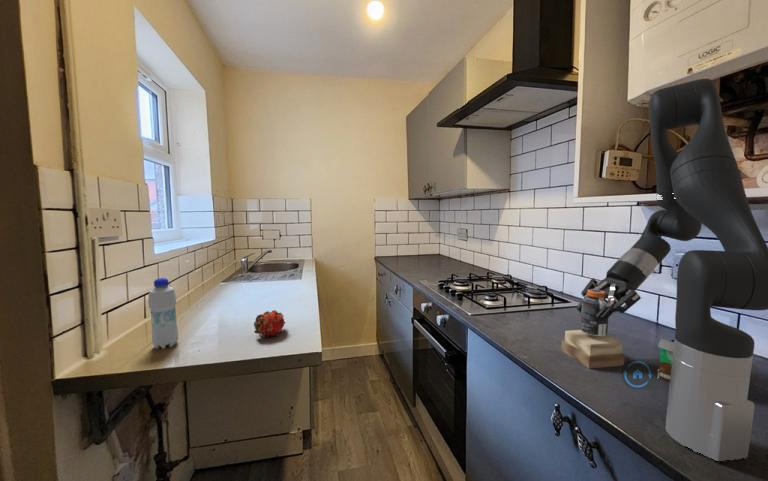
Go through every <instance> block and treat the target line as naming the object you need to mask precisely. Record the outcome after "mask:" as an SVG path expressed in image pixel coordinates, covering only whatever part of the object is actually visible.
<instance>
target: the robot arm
mask: <svg viewBox="0 0 768 481" xmlns="http://www.w3.org/2000/svg"><path fill="white" fill-rule="evenodd" d="M720 100H721V99H720V95H719V91H718V88H717V86H716V83H715V82H714V81H713V80H712V79H710V78H700V79H694V80H691V81H687V82H682V83H678V84H675V85H671V86H667V87H662V88H659V89H657V90H655V91H654V92H652V94H651V95H650V99H649V102H648V122H649V130H650V137H651V147H652V148H651V149H652V152H653V153H652V154H653V159H654V164H655V166H654V167H655V171H656V195H657V194H659V195H662V196H661V197H663V198H662V199H663V200H657V199H656V203H657V205H658V206H659V207H661V209H660V210H659V209H658V210H657V211H655V212H654V213H652V214H651V215H650V216H649V218H648V221H647V223H646V225H645V228H644V230H643V232H642V233H641V235H640V237H639V238H638V240H637V241H635V243H634V244H633V245H632V246H631V247H630V248H629V249H628V250H627V251H626V252H625V253H623V254H622V255H621V256H620V257H619V258H618V260H617V261H616V262H615V263H614V264H613V265H612V266H611V267H610V268H609V269H608V270H607V271H606V275H605V276H606V277H605V278H603V279H602V280H596V278H590V280H589V282H588V283H587V284H586V286H584V288H583V289H582V291H581V293H580V294H581V296H582V297H583V298H585V297H587V290H590V289H594V290H601V291H604V292H605V293H606V294H605V296H606V297H605V299H606V300H607V299H608V300H607V301H608V303H607V306H604V307H603V308H602V309H601V310H600V312H599V313H598V314H597V315H596V318H597V319H598V320H599V321H600V322H603V321H605V320H607V319H608V320H609V318H610V316H612V314H613V313H618V312H619V313H620V314H624V313H625V312H627V311H628V310H629V309H630V308H632V307H633V306H634V305H635V304H637V302H639V301H640V300H641V299H642V297H641V296H640V294H639V293H638V292H637V289H638V288H640V287H641V285H642V284H643V283H644V282H645V281H646V280H647V279H648V278H649V276H650V275H652V274H653V272H654V271H655V270H656V268H657V267H658V265H659V264H660V263H662V261H663V260H664V259H665V258H666V257H667V256H668V255H669V253H670V252H671V245H670V243H669V242H668V241H667V240H665V239H664V238H662V237H665V238H670V239H673V240H676V241H681V242H690V241H692V240H694V239H695V238H697V237H698V235H699V234H700V232H701V230H702V226H705V227H706V228H707V229H708V230H709V231H711V233H712V234H714V235H715V237H716V238H717V239H718V241H719V242H720V244H721V246H722V248H723V250H705V249H692V250H688V251H687V252H685V253H684V254H683V255H682V256H681V258H680V260H679V263H678V268H677V274H676V302H675V303H676V304H675V316H674V321H675V332H674V339H675V340H674V339H673V340H674V350H673V359H672V368H671V378H670V382H669V388H668V389H669V390H668V398H667V405H666V406H667V410H666V420H665V431H666V433H667V434H668V435H669V436H670V437H671V439H673V440H674V441H675V442H677V443H678V444H680V445H681V446H683V447H685V446H686V447H688V448H690V449H692V450H693V451H692V450H691V451H692V452H695V453H697V452H698V453H697V454H699V453H701V454H700V455H702V454H703V455H702V456H705V457H707V458H709V459H711V458H712V459H714V460H716V461H723V462H727V461H726V460H730V461H737V460H743V459H742V458H744V459H747V458H746V457H748V458H749V451H750V442H751V434H752V429H753V428H752V427H753V420H754V413H755V402H753V401H752V400H748V397H749V396H748V395H749V388H750V380H751V374H752V366H753V361H754V360H753V359H754V352H755V340H754V338H753V337H752V335H751V334H749V333H747V332H745V331H743V330H741V329H739V328H736V327H734V326H732V325H729V324H726V323H723V322H721V321H719V320H717V319H715V318H713V317H712V314H711V312H712V311H711V307H713V308H714V307H716V308H723V309H726V308H727V309H734V310H744V311H745V310H746V311H767V310H768V245H767V243H766V240H765V239H764V237H763V235H762V232H761V230H760V229H759V227H758V224H757V222H756V220H755V218H754V215H753V212H752V209H751V206H750V203H749V201H748V197H747V195H746V190H745V187H744V182H743V178H742V175H741V171H740V168H739V166H738V162H737V160H736V158H735V155H734V152H733V149H732V147H731V143H730V141H729V137H728V134H727V132H726V127H725V123H724V117H723V112H722V111H723V110H722V106H721V101H720ZM693 125H694V126H695V125H696V126H697V125H698V127H697V130H696V131H695V133H694V135H693V137H692V138H691V139H690V141H688V142H687V144H686V145H685V146H684V147H683V148H682V150H681V151H680V152H679V151H677V150H676V148H675V147H674V146H673V144H672V142H671V141H670V138H669V134H668V132H669V130H673V129H678V128H684V127H690V126H693ZM672 193H674V194H672ZM674 197H675V198H676V199H674ZM660 236H661V237H660ZM582 301H583V299H581V301H580V302H579V304H577V307H576V310H577V312H579V313H581V314H582ZM686 447H685V448H686ZM688 448H687V449H688ZM690 449H689V450H690ZM712 459H711V460H712ZM735 459H736V460H735ZM714 460H713V461H714ZM724 460H725V461H724Z"/></svg>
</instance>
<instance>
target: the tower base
mask: <svg viewBox="0 0 768 481" xmlns="http://www.w3.org/2000/svg"><path fill="white" fill-rule="evenodd" d="M564 332H565V333H564V339H563V340H561V345H560V346H561V349H560V351H561V352H562V353H564V354H566V355H567V356H569V357H570V358H572V359H574V360H575V361H577V362H578V363H580V365H583V366H584V367H586V368H587V369H600V368H610V367H611V368H612V367H621V366H622V365H625V358H626V357H625V356H626V354H625V353H623V352H622V350H623V349H622V348H623V342H622V341H620V340H619V339H617V338H614V337H613V336H610V335H608V334H607V335H605V336H594V335H589V334H587V333H584V332H583V331H582V330H581V329H572V330H565V331H564Z"/></svg>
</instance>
